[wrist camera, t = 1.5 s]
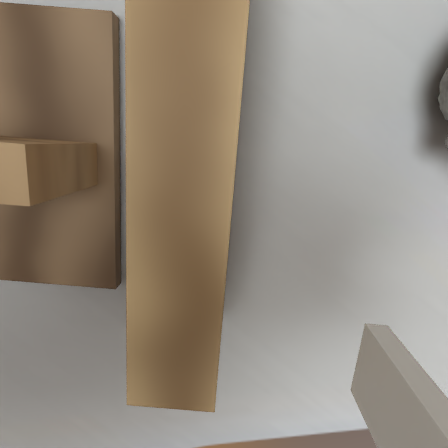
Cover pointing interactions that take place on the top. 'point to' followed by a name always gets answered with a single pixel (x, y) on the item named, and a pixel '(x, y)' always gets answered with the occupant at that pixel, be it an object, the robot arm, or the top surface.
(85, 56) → the fulcrum
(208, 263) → the bar
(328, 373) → the top surface
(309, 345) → the top surface
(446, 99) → the stone
